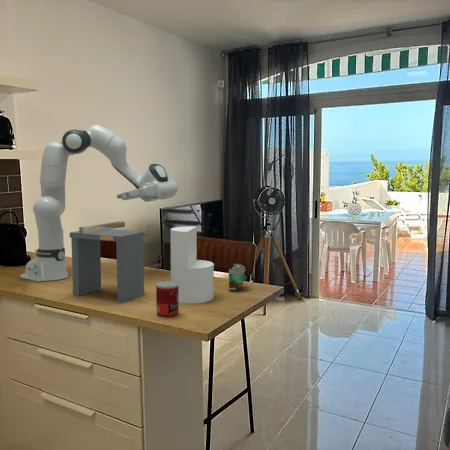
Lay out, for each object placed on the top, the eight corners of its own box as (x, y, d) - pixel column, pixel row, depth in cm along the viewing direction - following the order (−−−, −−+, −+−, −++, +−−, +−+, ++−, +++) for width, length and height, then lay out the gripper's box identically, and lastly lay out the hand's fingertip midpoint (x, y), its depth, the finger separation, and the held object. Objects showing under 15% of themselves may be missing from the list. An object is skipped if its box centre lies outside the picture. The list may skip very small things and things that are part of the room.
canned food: (172, 318, 156) (172, 287, 155) (152, 315, 159) (151, 285, 158) (182, 312, 163) (182, 282, 162) (163, 309, 166) (162, 280, 165)
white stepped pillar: (165, 302, 176) (165, 231, 172) (176, 290, 193) (176, 225, 189) (209, 304, 173) (210, 232, 170) (216, 292, 190) (217, 226, 187)
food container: (242, 293, 190) (243, 270, 189) (228, 292, 191) (228, 269, 190) (247, 286, 202) (247, 264, 201) (233, 285, 203) (233, 263, 202)
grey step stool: (70, 295, 183) (68, 232, 180) (97, 286, 198) (95, 228, 195) (121, 303, 173) (120, 236, 170) (145, 293, 188) (144, 231, 185)
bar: (79, 233, 178) (79, 227, 178) (119, 226, 202) (119, 220, 202) (85, 233, 177) (85, 227, 177) (124, 226, 201) (124, 221, 201)
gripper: (134, 188, 219) (110, 191, 210) (159, 182, 205) (134, 185, 195) (137, 201, 220) (112, 204, 210) (162, 196, 205) (136, 199, 195)
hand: (123, 195), depth 202 cm, fingers open, 8 cm apart
